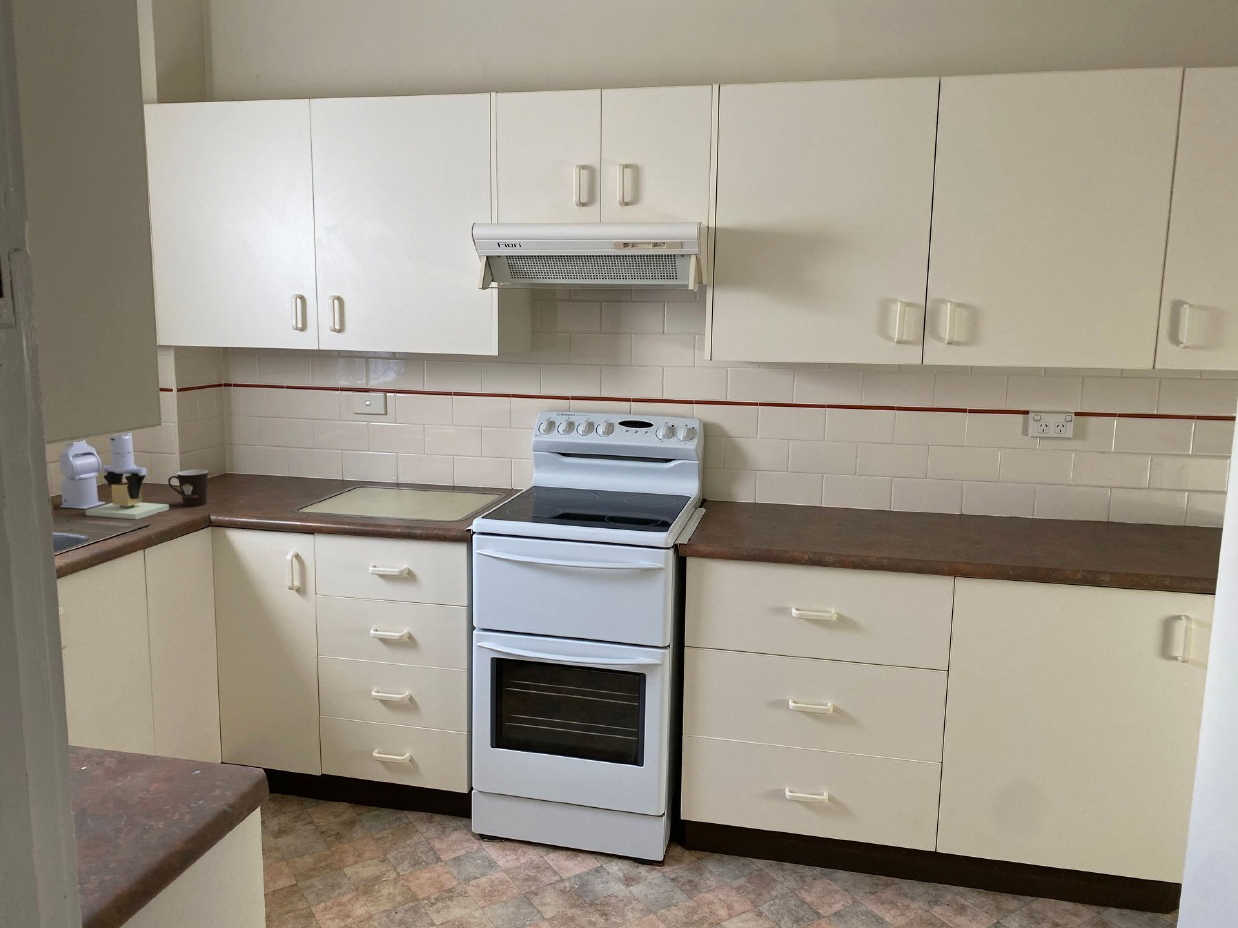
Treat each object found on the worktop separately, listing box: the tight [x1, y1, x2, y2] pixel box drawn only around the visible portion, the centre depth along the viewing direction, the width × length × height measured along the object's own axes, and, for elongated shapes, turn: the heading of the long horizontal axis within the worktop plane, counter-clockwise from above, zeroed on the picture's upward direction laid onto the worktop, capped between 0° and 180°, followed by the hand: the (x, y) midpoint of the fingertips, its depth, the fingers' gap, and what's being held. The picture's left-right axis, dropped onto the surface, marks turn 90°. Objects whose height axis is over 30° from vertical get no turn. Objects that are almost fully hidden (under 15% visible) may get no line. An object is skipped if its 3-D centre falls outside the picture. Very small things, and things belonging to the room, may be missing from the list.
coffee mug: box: [167, 469, 209, 508], centre depth 290 cm, size 12×9×10 cm
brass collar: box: [110, 480, 144, 506], centre depth 279 cm, size 6×6×6 cm
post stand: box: [84, 502, 170, 520], centre depth 279 cm, size 18×13×6 cm
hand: (126, 497), depth 279 cm, fingers closed on brass collar, 6 cm apart
